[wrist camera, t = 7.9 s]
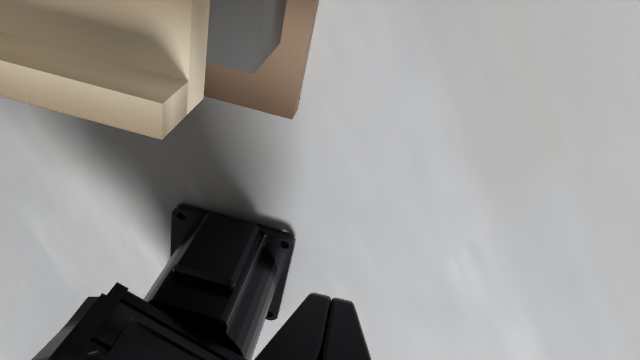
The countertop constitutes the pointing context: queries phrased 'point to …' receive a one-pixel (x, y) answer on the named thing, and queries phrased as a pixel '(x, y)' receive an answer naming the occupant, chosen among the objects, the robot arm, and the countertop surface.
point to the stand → (259, 52)
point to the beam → (106, 59)
